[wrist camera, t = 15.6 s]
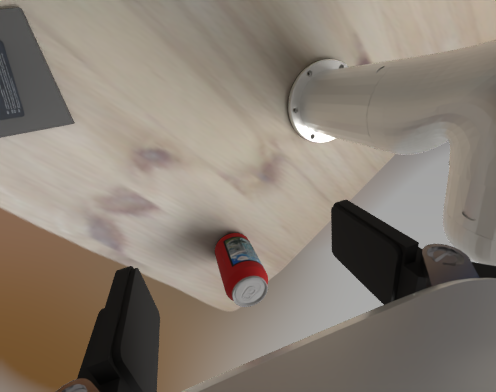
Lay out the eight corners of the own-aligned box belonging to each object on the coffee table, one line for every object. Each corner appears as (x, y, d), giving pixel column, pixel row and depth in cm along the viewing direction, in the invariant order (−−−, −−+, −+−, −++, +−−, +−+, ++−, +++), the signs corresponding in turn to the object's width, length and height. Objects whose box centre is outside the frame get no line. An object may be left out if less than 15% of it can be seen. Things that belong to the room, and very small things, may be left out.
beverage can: (255, 238, 46) (280, 282, 36) (235, 265, 47) (254, 315, 37) (226, 224, 43) (245, 267, 32) (206, 253, 44) (218, 304, 34)
